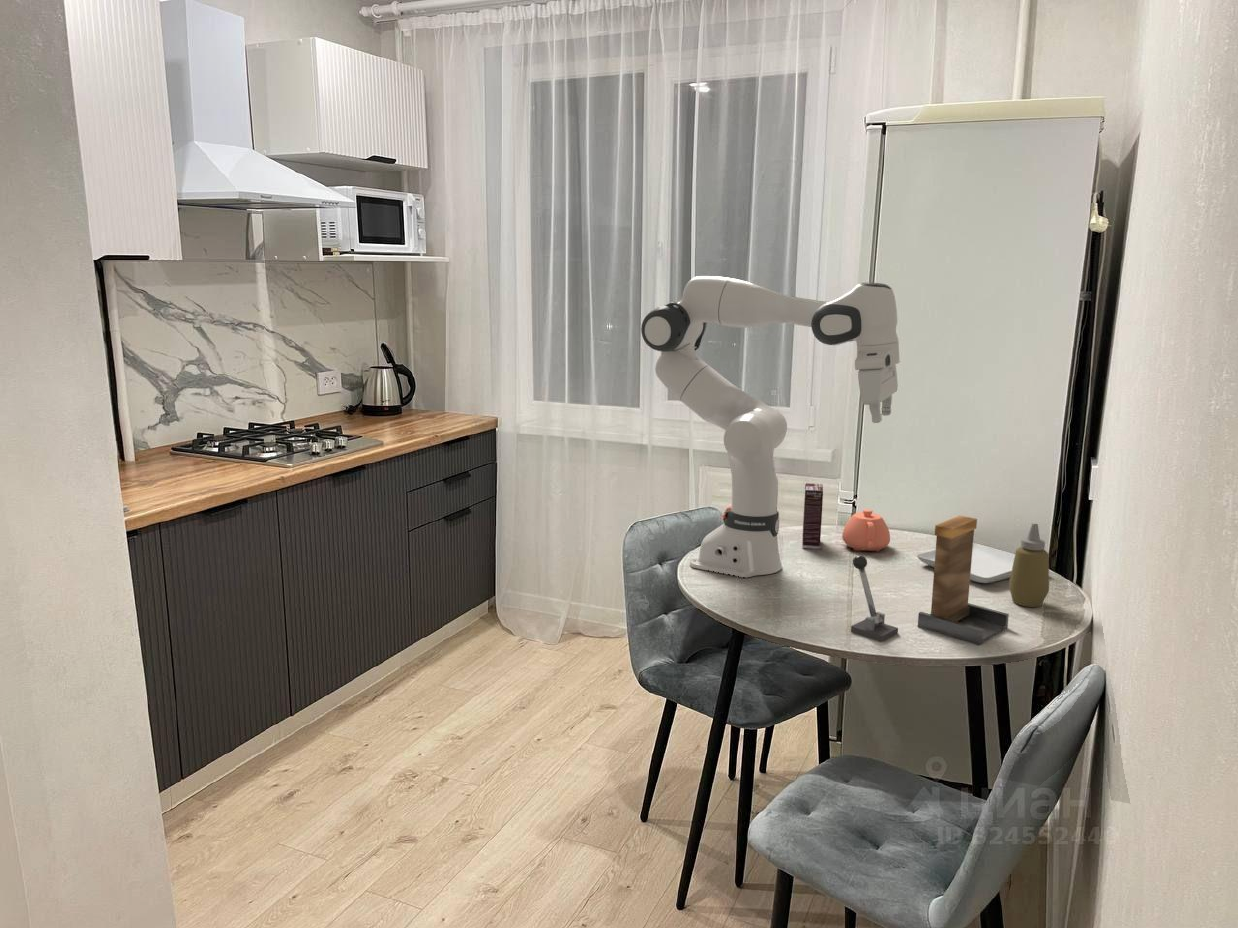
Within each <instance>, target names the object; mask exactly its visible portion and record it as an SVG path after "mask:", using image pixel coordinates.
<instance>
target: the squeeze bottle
mask: <svg viewBox="0 0 1238 928" xmlns="http://www.w3.org/2000/svg"><path fill="white" fill-rule="evenodd" d="M1039 530H1040V528H1039V524H1038V523H1031V526H1030V529H1029V531H1028V534H1027V537H1023V538H1022V539H1021V540H1020V541H1021V543H1020V547H1017V548H1016V550H1015V553H1014V554H1015V558H1014V562H1013V567H1012V572H1011V577H1010V578H1009V582H1008V588H1009V592H1010V595H1011V599H1012V600H1011V601H1012V602H1013V603H1014V604H1016V605H1019V606H1022V607H1027V608H1037V607H1038V608H1039V607H1041V606H1042V605H1043V603H1044V601H1045V600H1046V597H1047V595H1048V593H1049V591H1050V578H1049V577H1050V575H1049V574H1050V573H1049V572H1050V566H1049V564H1050V563H1049V557H1050V555H1049V554H1050V553H1049V552H1048V551H1046V550H1045V546H1046V545H1045V544H1046V541H1045V540H1044V539H1041V538H1040V537H1041V536H1040V531H1039Z"/></svg>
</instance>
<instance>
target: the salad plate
mask: <svg viewBox="0 0 1238 928" xmlns="http://www.w3.org/2000/svg"><path fill="white" fill-rule="evenodd" d="M935 552H936V549H934V550H929V551H923V552H921V553H917V554H916V557H917V558H918V559H919V560H920V561H921V562H922V563H924V564H925V565H927V566H929V567H932V568H934V566H935ZM1014 558H1015V553H1011V552H1008V551H1004V550H1000V549H997V548H995V547H990V546H986V545H983V544H980V543H975V542H973V549H972V561H971V573H970V581H973V582H975V583H978V584H990V583H995V582H998V581H1003V580H1006V579H1010V577H1011V572H1012V567H1013V562H1014Z"/></svg>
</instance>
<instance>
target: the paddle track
mask: <svg viewBox="0 0 1238 928" xmlns="http://www.w3.org/2000/svg"><path fill="white" fill-rule="evenodd" d="M968 607H970V614H969V615H968V616H966V617H964V618H962V619H961V620H959V621H957V622H956V621H952V620H949V619H945V618H942V617H938V616H935V615H931V613H928V612H923V611H919V612H918V618H917V627H918V628H922V629H924V630H928V631H931V632H934V633H937V634H941V635H944V636H948V637H951V638H954V639H957V640H960V641H964V642H968V643H971V644H974V645H978V646H980V645H982V644H984V643H986V642H987V641H989V640H990V639H992V638H993V636H994V637H995V636H997V635H998V634H1000V633H1001V632H1003V631H1005V630H1007V629H1008V626H1009V616H1010V615H1009V614H1010V613H1006V612H1003V611H999V610H995V609H992V608H987V607H985V606H980V605H976V604H972V603H969V602H968Z"/></svg>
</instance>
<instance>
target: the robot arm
mask: <svg viewBox="0 0 1238 928" xmlns="http://www.w3.org/2000/svg"><path fill="white" fill-rule="evenodd" d="M707 323H709V324H716V325H720V326H725V327H729V328H740V329H741V328H743V329H744V328H749V329H750V328H756V327H760V326H765V325H773V324H790V325H791V324H792V325H797V326H804V327H808V328H811V331H812V333H813V336H814V337H815V339H817V341H818V342H820V343H822V344H824V345H828V346H840V345H843V344H846V343H849V342H854V341H855V342H856V357H855V359H854V368H855V370H856V371H858V372H857V379H858V386H859V394H860V400H861V402H862V404H863V405H864V406H868V405H869V407H868V409H869V411H870V414H871V422H872V423H873V424H879V423H881V422H882V420H883V419H882V417H883V416H890V415H891V414H892V401H893V394H895V393H896V392H898V386H899V385H898V384H899V383H898V376H897V375H898V374H897V373H898V372H897V365H898V364H899V363H900V362H901V360H900V347H899V343H900V341H899V338H898V335H897V325H898V311H897V301H896V296H895V293H894V290H893V288H892V287H891V286H889V285H888V284H885V283H883V282H882V283H880V282H860V283H858V284H856V285H855V286H854V287H853V288H852V289H851V290H850V291H848V292H847V293H845V294H844V295H842V296H839V297H838V298H836V299H834V300H831V301H822V300H821V301H820V300H815V299H810V298H803V297H797V296H793V295H788V294H787V295H786V294H783V293H780V292H777V291H774V290H772V289H768V288H766V287H763V286H762V285H761V286H760V285H758V284H755V283H752V282H749V281H745V280H742V279H737V278H731V277H724V276H713V275H712V276H710V275H700V276H695V277H693V278H691V279H690V280H689V281H688V282H687V283H686V285H685V287H684V289H683V293H682V297H681V299H680V300H679V301H678V302H676V301H671V302H668V303H666V304H663V305H660V306H657V307H656V308H654V309H653V310H650V312H648V313H647V314H646V315H645V317H644V319H643V320H642V322H641V328H640V331H641V336H642V339H643V341H644V343H645V345H647V346H648V347H649V348H650V349H652V350H654V351H658V352H660V356H659V358H657V360H656V364H655V368H654V369H655V370H654V371H655V374H656V377H657V378H658V379H659V381H660V382H661V383H662V385H664V387H665V388H667V390H668V391H669V392H670V393H672V395H674V396H675V398H677V399H678V400H679V401H680V402H682V403H683V404H684V405H685V406H686V407H688V408H689V409H690V410H691V411H692V412H694V413H695V414H696V415H698V416H699V418H701V419H702V420H704V422H705V421H706V423H710V424H712V425H715V426H717V427H719V428H721V429H722V430H724V431H725V432H724V434H723V445H724V448H725V451H727V453H728V461H729V462H728V463H729V466H730V472H731V506H728V507H727V508H726V509H725V511H724V512H723V514H722V521H723V524H721V525H719V526H718V527H717V528H715V529H713V530H712V531H711V532H709V533H708V534H706V536H705V537H704V538H703V540H702V541H701V544H700V548H699V550H698V552H696V553H694V554H693V555H692V557H691V558H690V563H689V565H690V567H691V568H694V569H698V570H704V571H708V570H709V571H708V572H713V571H714V573H718V572H719V573H718V574H723V573H724V575H728V574H730V575H729V576H733V575H735V576H734V577H738V576H739V577H738V578H743V577H745V578H750V577H755V576H763V575H764V576H765V575H770V574H774V573H777V572H780V571H781V570H782V569H783V566H782V562H781V556H780V553H779V544H778V534H779V530H780V513H779V511H778V499H779V498H778V496H779V479H778V477H777V475H776V469H775V464H774V451H775V449H776V448H778V447H779V446H780V445H781V444H782V443H783V441H784V440H785V437H786V435H787V430H788V423H787V419H786V418H785V416H784V414H782V413H781V412H780V411H779V410H778V409H775V408H773V407H772V406H769V405H768V404H766V403H764V402H763V401H762V400H760V399H758V398H756V397H754V396H753V395H751V394H750V393H748V392H746V391H744V390H742V389H741V388H739V387H737V386H736V385H734V384H733V383H732V382H731V381H729V380H728V379H726V378H725V377H724V376H723V375H722V374H720V373H719V372H718V371H717V370H716V369H714V368H712V366H710V365H709V364H707V362H705V361H704V360H703V359H701V358H700V357H699V356H698V354H696V351H698V349H699V348H700V346H701V343H702V340H703V337H704V335H705V333H706V330H707Z"/></svg>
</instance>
